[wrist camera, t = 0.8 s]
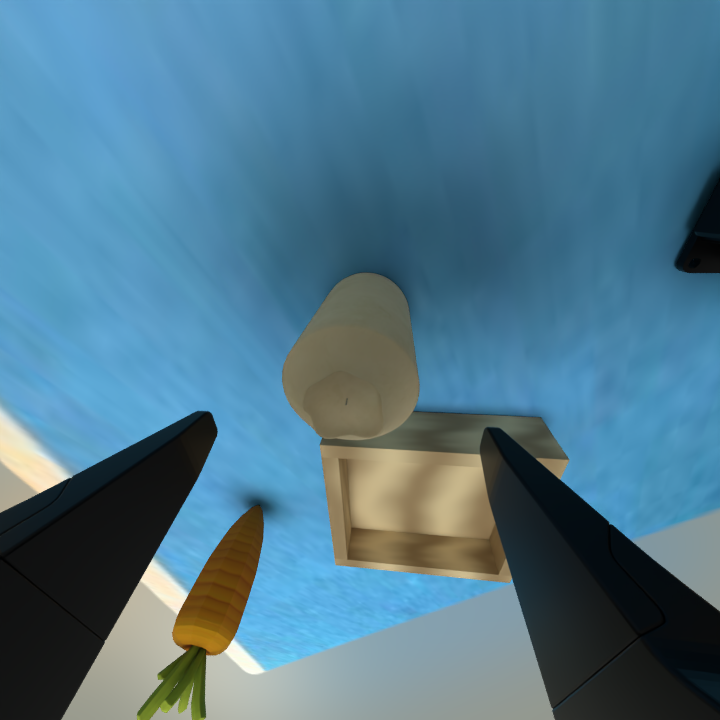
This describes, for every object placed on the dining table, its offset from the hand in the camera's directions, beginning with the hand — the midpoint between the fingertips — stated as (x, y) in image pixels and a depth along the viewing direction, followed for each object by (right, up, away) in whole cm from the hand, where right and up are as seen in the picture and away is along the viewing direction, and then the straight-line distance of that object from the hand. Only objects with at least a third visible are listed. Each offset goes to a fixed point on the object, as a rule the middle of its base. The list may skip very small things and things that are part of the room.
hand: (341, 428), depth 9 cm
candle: (+1, +5, +10) cm, 11 cm away
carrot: (-10, -13, +22) cm, 27 cm away
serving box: (+6, -9, +17) cm, 20 cm away
